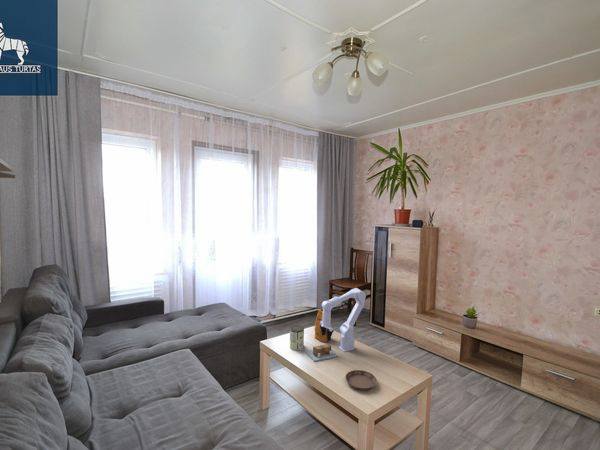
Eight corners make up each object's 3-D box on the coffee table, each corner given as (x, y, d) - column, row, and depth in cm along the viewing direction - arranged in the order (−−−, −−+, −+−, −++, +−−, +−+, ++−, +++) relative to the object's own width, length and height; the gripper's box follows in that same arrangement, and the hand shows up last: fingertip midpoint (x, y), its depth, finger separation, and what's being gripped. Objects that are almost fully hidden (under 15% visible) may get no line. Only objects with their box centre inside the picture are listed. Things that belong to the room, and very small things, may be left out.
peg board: (329, 348, 201) (329, 344, 201) (338, 356, 190) (338, 351, 190) (306, 353, 194) (306, 348, 194) (314, 362, 183) (314, 356, 183)
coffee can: (293, 342, 210) (293, 324, 209) (305, 345, 205) (306, 326, 205) (287, 348, 200) (287, 329, 200) (300, 351, 196) (300, 332, 195)
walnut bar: (328, 350, 196) (328, 343, 196) (331, 353, 193) (331, 346, 192) (313, 353, 191) (313, 346, 191) (315, 356, 188) (315, 349, 188)
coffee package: (321, 334, 225) (322, 307, 224) (332, 339, 216) (333, 311, 215) (312, 337, 219) (313, 309, 218) (323, 343, 209) (324, 314, 208)
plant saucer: (339, 383, 161) (339, 378, 161) (355, 371, 174) (355, 366, 174) (367, 397, 149) (367, 392, 149) (382, 383, 162) (382, 377, 162)
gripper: (316, 315, 202) (316, 334, 202) (326, 323, 188) (326, 342, 189) (325, 314, 205) (325, 332, 205) (335, 321, 191) (335, 341, 192)
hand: (326, 337), depth 197 cm, fingers open, 7 cm apart
